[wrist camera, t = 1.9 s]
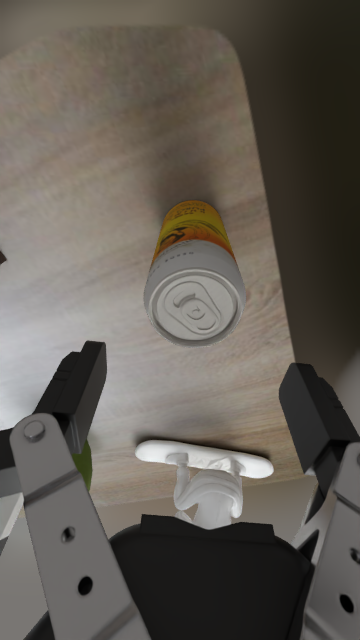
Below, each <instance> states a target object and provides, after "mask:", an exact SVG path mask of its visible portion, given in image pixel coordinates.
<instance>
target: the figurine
mask: <svg viewBox="0 0 360 640" xmlns="http://www.w3.org/2000/svg"><path fill="white" fill-rule="evenodd" d="M135 455H136V457H137V458H139V459H140V460H143V461H149V462H164V463H166V464H176V465H177V466H179V468H178V469H177V471H176V474H177V483H176V486H175V491H174V504H175V506H176V507H177V509H179V510H186V509H188V508H189V507H191V506H192V505H194V504H196V503H198V504H199V505H198V510H197V512H196V514H195V517H194V520H193V521H192V520H191V519H190V517H188V516H187V514H186V513H184V512H183V511H178V512H177V513H176V515H175V517H176V518H179V519H181V520H184V521H186V522H189V523H192V524H194V525H197V526H199V527H202V528H204V529H209V530H210V529H215V528H219V527H223V526H227V525H231V516H233V517H235V518H237V517H239V516H240V514H241V512H242V503H243V495H242V488H241V486H242V479H241V477H240V475H243V476H247V477H252V478H264V477H267V476H269V475H271V474H272V473H273V471H274V469H273V465H272V463H271V462H270V461H269V460H267V459H265V458H263V457H260V456H256V455H251V454H247V453H242V452H235V451H229V450H223V449H217V448H211V447H204V446H198V445H192V444H186V443H181V442H175V441H163V440H149V441H145V442H143V443H141V444H139V445H138V446H137V447H136V449H135ZM187 466H191V467H197V468H202V469H205V470H202V471H200V472H199V473H197V474H196V475H195V476H194V477H193V478H192V479H191V481H189V469H188V468H187ZM228 472H230V473H232V475H231V474H230V473H228Z"/></svg>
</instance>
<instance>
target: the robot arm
mask: <svg viewBox="0 0 360 640" xmlns="http://www.w3.org/2000/svg"><path fill="white" fill-rule="evenodd" d="M106 374H107V360H106V344H105V342H96V341H86V342H85V344H84V346H83V348H82V350H81V352H71V353H70V354H69V355H67V356H66V357H65V358H64V359H62V361H61V363H60V365H59V367H58V368H57V372H55V374H54V376H53V378H52V380H51V381H50V383H49V385H48V387H47V389H46V390H45V392H44V394H43V396H42V398H41V399H40V401H39V403H38V405H37V407H36V409H35V410H34V412H33V413H32V415H29V416H27V417H25V418H24V419H22V420H21V421H19V422H18V423H17V424H16V425H15V427H13V428H10V429H7V430H2V431H0V498H2V497H6V496H10V495H14V494H18V493H23V498H24V502H23V505H24V510H25V515H26V519H27V523H28V527H29V532H30V536H31V540H32V544H33V548H34V552H35V556H36V561H37V565H38V569H39V573H40V577H41V582H42V586H43V590H44V594H45V598H46V602H47V607H48V611H47V612H46V613H45V614H44V615H43V617H42V618H41V619H40V620H39V621H38V623H37V624H36V625H35V626H34V627H33V629H32V630H31V631H30V632H29V633H28V635H27V636H26V637H25V638H24V639H23V640H360V437H359V435H358V434H357V431H356V430H355V428H354V426H353V424H352V422H351V420H350V419H349V417H348V415H347V413H346V411H345V410H344V409H343V406H342V404H341V402H340V401H339V400H338V397H337V395H336V393H335V392H334V390H333V388H332V387H331V386H330V385H329V384H328V383H327V382H326V381H325V380H324V379H323V378H320V377H318V376H317V374H316V372H315V370H314V368H313V366H312V365H310V364H302V363H291V364H290V366H289V368H288V370H287V372H286V374H285V377H284V379H283V381H282V383H281V385H280V388H279V400H280V403H281V406H282V409H283V412H284V415H285V418H286V421H287V424H288V427H289V430H290V433H291V436H292V439H293V442H294V445H295V448H296V451H297V454H298V457H299V460H300V463H301V466H302V469H303V472H304V474H305V475H316V477H317V480H318V483H317V484H316V485H315V488H314V490H313V494H312V496H311V499H310V501H309V504H308V507H307V509H306V512H305V515H304V518H303V520H302V523H301V526H300V528H299V530H298V532H297V534H296V536H295V537H294V539H293V541H292V543H291V544H289V543H288V542H286V541H284V540H283V539H281V538H279V537H277V536H275V535H274V530H273V525H271V524H260V523H247V522H239V523H235V524H231V525H227V526H223V527H219V528H215V529H210V530H209V529H204V528H202V527H199V526H197V525H194V524H192V523H189V522H186V521H184V520H181V519H179V518H176V517H171V516H158V515H146V514H142V518H141V523H140V524H137V525H133V526H130V527H128V528H125V529H123V530H122V531H120V532H118V533H117V534H115V535H114V536H112V537H111V538H110V539H109V540H108V538H107V535H106V533H105V530H104V528H103V526H102V523H101V521H100V518H99V516H98V513H97V511H96V509H95V506H94V504H93V501H92V499H91V496H90V494H89V492H88V489H87V487H86V484H85V482H84V480H83V477H82V475H81V473H80V472H78V470H77V468H76V466H75V463H74V461H73V458H72V453H76V454H81V453H82V450H83V447H84V444H85V441H86V438H87V435H88V432H89V429H90V426H91V423H92V420H93V417H94V414H95V411H96V408H97V405H98V402H99V399H100V396H101V393H102V390H103V387H104V384H105V380H106Z"/></svg>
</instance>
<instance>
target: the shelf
mask: <svg viewBox="0 0 360 640" xmlns="http://www.w3.org/2000/svg"><path fill="white" fill-rule="evenodd" d="M5 261H6V258H5V257H4V256H3V254H2V253H1V252H0V265H1V264H2V263H3V262H5Z"/></svg>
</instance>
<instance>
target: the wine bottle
mask: <svg viewBox="0 0 360 640" xmlns="http://www.w3.org/2000/svg"><path fill="white" fill-rule="evenodd" d="M23 502H24V498H23V493H18V494H14V495H10V496H6V497H2V498H0V555H1V553H2V550H3V548H4V546H5V544H6V541H7V539H8V537H9V535H10V532H11V530H12V528H13V526H14V523H15V521H16V519H17V517H18V514H19V512H20V510H21V508H22V505H23Z"/></svg>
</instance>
